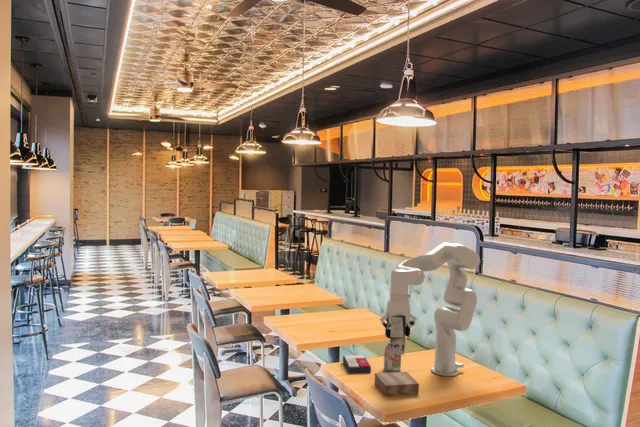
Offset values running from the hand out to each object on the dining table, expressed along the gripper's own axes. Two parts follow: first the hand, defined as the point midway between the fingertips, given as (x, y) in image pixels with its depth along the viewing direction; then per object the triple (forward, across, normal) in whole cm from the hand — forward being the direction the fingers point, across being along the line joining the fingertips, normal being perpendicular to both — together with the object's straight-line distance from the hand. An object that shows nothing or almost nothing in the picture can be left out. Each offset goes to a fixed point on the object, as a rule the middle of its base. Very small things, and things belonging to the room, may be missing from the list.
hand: (397, 336), depth 211 cm
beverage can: (+23, -9, -22) cm, 33 cm away
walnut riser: (+24, 0, 0) cm, 24 cm away
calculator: (+24, +7, -29) cm, 38 cm away
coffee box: (+7, 0, 0) cm, 7 cm away
